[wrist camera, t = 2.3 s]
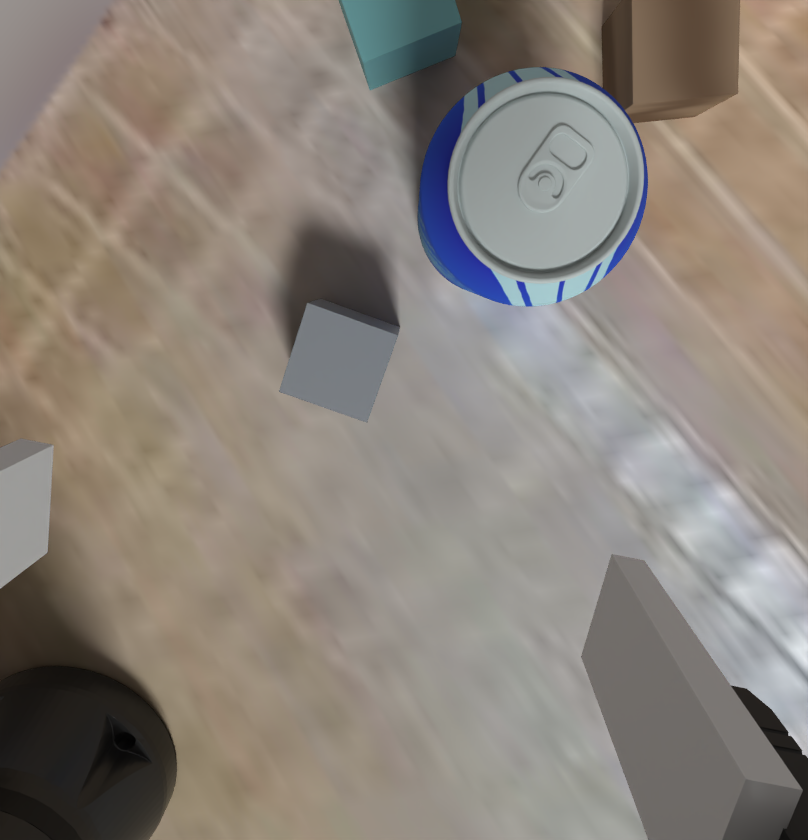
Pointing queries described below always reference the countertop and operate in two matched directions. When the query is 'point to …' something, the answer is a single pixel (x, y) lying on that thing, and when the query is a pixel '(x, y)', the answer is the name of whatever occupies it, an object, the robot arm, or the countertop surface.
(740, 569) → the countertop surface
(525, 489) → the countertop surface
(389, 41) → the teal cube
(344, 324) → the grey cube
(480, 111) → the beer can
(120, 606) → the countertop surface
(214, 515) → the countertop surface
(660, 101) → the walnut cube
